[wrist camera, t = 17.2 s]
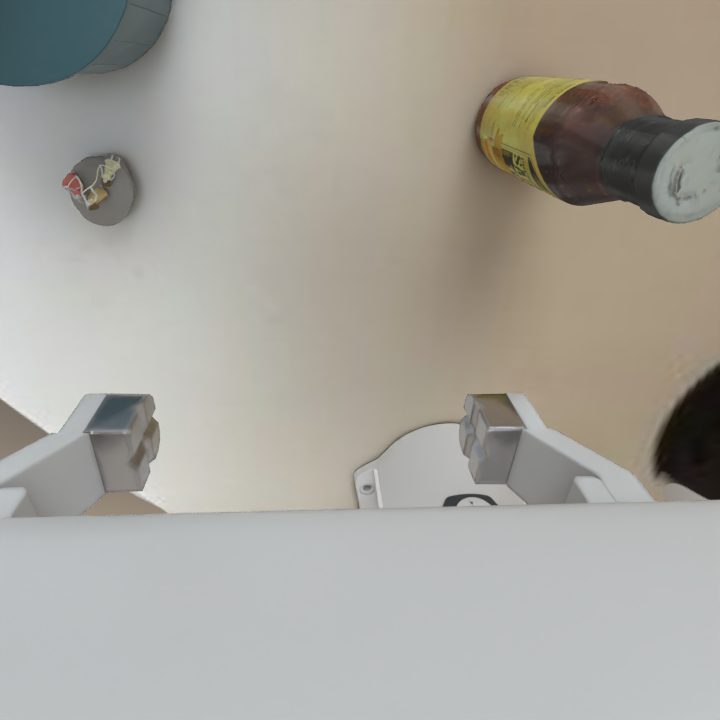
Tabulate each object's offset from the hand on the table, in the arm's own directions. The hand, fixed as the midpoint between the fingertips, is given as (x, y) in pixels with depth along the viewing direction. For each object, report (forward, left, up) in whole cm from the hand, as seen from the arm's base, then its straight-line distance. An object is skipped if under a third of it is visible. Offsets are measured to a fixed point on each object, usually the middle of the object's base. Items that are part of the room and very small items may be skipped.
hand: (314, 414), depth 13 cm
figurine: (-1, +15, -29) cm, 33 cm away
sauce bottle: (+5, -15, -29) cm, 33 cm away
